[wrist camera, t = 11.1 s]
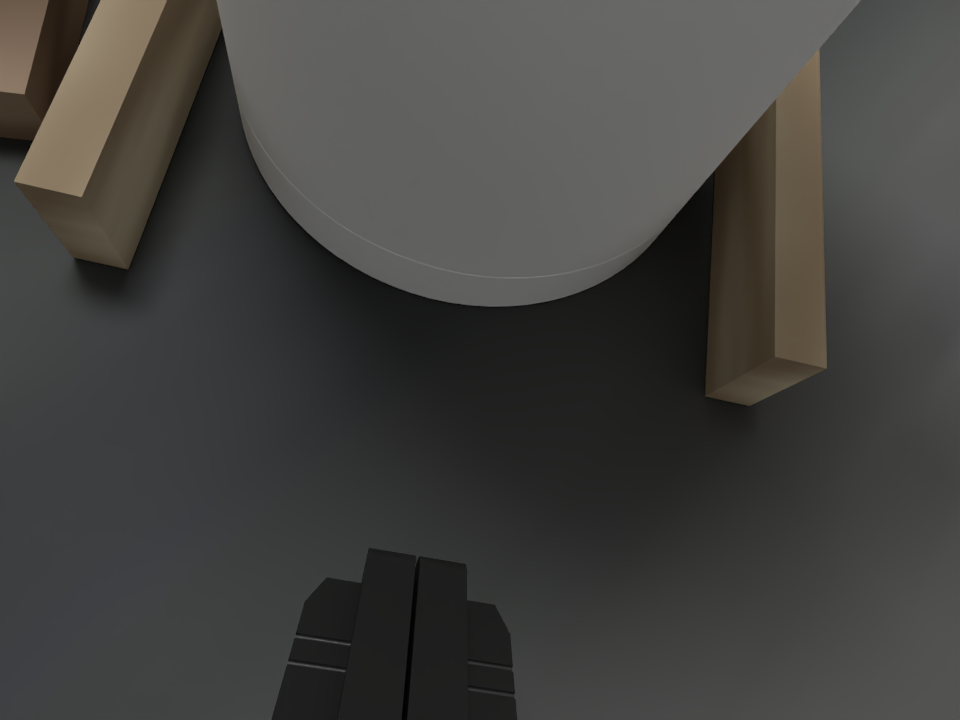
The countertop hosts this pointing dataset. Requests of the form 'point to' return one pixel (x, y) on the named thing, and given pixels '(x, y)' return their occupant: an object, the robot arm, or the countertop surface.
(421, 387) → the countertop surface
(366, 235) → the cylinder
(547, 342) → the countertop surface
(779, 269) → the cradle
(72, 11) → the brown block piece
